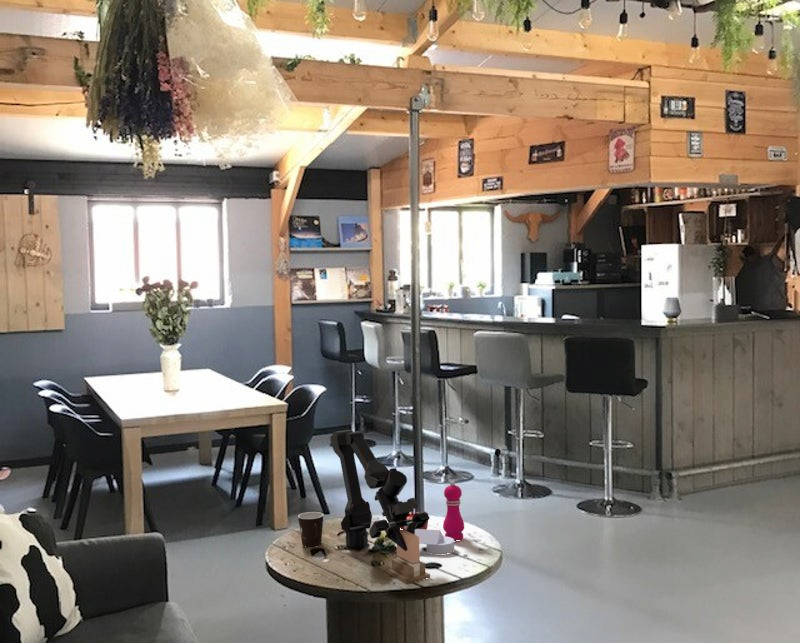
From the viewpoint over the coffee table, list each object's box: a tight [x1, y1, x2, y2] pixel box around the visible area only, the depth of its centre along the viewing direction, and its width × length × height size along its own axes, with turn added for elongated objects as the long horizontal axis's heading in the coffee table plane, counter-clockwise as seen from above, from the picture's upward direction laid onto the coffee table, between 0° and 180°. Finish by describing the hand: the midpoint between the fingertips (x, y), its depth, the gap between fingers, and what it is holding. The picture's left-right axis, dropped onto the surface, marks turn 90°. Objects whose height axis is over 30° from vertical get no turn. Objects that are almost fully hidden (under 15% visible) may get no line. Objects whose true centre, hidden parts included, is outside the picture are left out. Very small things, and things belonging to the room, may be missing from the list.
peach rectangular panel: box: [396, 530, 421, 563], centre depth 244 cm, size 9×2×8 cm, turn 31°
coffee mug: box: [297, 511, 324, 548], centre depth 276 cm, size 12×9×10 cm
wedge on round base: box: [415, 529, 455, 555], centre depth 268 cm, size 9×7×13 cm
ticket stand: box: [387, 555, 431, 585], centre depth 244 cm, size 11×8×5 cm
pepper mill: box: [442, 480, 465, 541], centre depth 278 cm, size 7×7×20 cm
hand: (410, 549), depth 243 cm, fingers closed on peach rectangular panel, 3 cm apart
